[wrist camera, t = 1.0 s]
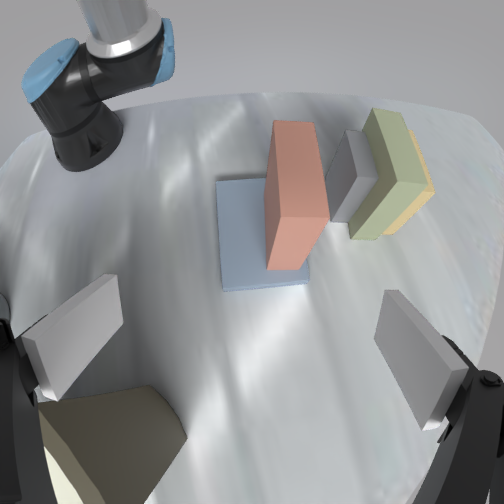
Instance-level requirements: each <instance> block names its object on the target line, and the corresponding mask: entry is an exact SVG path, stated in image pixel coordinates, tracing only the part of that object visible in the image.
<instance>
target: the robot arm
mask: <svg viewBox="0 0 504 504" xmlns="http://www.w3.org/2000/svg"><path fill="white" fill-rule="evenodd" d="M77 2H78V5H79V7H80V9H81V11H82V14H83V16H84V18H85V20H86V22H87V24H88V26H89V29H90V32H89V34H88V36H87V40H86V43H83V44H80V45H79V42H78V41H77V40H76V39H75V38H70V39H65V40H63V41H61V42H59V43H57V44H55V45H54V46H52V47H51V48H49V49H48V50H46V51H45V52H44V53H43V54H41V55H40V56H39V57H38V58H37V59H36V60H35V61H34V62H33V63H32V64H31V65H30V67H29V68H28V69H27V71H26V73H25V74H24V76H23V79H22V84H21V85H22V89H23V91H24V93H25V96H26V98H27V101H28V103H30V104H31V106H32V108H33V109H34V111H35V112H36V114H37V115H38V117H39V118H40V120H41V121H42V123H43V124H44V126H45V127H46V129H47V130H48V131H49V133H50V135H51V137H52V141H53V146H54V150H55V155H56V158H57V160H58V161H59V163H60V164H61V165H62V166H63V168H65V169H66V170H68V171H72V172H79V171H84V170H88V169H90V168H92V167H94V166H96V165H98V164H100V163H101V162H102V161H104V160H105V159H106V158H107V157H109V156H110V155H111V154H112V152H113V151H114V150H115V149H116V147H117V146H118V144H119V142H120V140H121V138H122V133H123V128H122V125H121V122H120V120H119V118H118V116H117V115H116V114H115V113H114V112H112V111H111V110H110V109H109V108H108V107H107V106H106V105H105V104H104V103H103V102H102V101H103V100H106V99H109V98H112V97H115V96H118V95H122V94H125V93H128V92H132V91H135V90H139V89H143V88H146V87H152V86H154V85H155V84H158V83H161V82H164V81H167V80H169V79H170V78H171V77H172V75H173V73H174V67H175V53H174V52H175V51H174V36H173V29H172V24H171V21H170V19H168V18H161V16H160V15H159V13H158V12H157V11H156V10H154V9H152V8H149V7H148V5H147V0H77ZM122 324H123V316H122V310H121V303H120V295H119V287H118V279H117V275H115V274H103V275H102V276H100V277H99V278H97V279H96V280H95V281H93V282H92V283H90V284H89V285H88V286H86V287H85V288H83V289H82V290H81V291H79V292H78V293H76V294H75V295H74V296H72V297H71V298H70V299H68V300H67V301H66V302H64V303H63V304H62V305H60V306H59V307H58V308H56V309H55V310H54V311H52V312H51V313H50V314H47V315H45V316H44V317H42V318H41V319H40V320H38V322H36V323H35V324H33V325H32V327H29V328H28V329H27V330H26V331H24V332H23V333H22V334H21V335H19V336H18V337H17V338H16V339H14V336H13V333H12V330H11V326H10V323H9V320H7V319H6V318H0V504H58V502H57V499H56V495H55V492H54V488H53V485H52V481H51V477H50V473H49V469H48V464H47V460H46V455H45V450H44V444H43V439H42V433H41V426H40V419H39V411H38V401H37V395H36V393H35V390H34V389H35V388H36V387H37V386H38V385H39V386H40V389H41V391H42V393H43V395H44V396H45V397H47V398H50V399H52V400H55V401H59V400H60V398H61V397H62V396H63V395H64V393H65V392H66V391H67V390H68V388H69V387H70V386H71V385H72V383H73V382H74V381H75V380H76V379H77V377H78V376H79V375H80V374H81V372H82V371H83V370H84V369H85V368H86V366H87V365H88V364H89V363H90V362H91V360H92V359H93V358H94V357H95V356H96V355H97V353H98V352H99V351H100V350H101V349H102V348H103V346H104V345H105V344H106V343H107V342H108V341H109V339H110V338H111V337H112V336H113V335H114V334H115V332H116V331H117V330H118V329H119V328H120V327H121V326H122ZM374 340H375V342H376V344H377V346H378V347H379V349H380V351H381V353H382V355H383V356H384V358H385V360H386V362H387V364H388V366H389V368H390V369H391V371H392V373H393V375H394V377H395V379H396V381H397V383H398V385H399V387H400V388H401V390H402V392H403V394H404V396H405V398H406V400H407V402H408V404H409V406H410V408H411V410H412V412H413V414H414V416H415V418H416V420H417V422H418V424H419V426H420V428H421V431H425V430H429V429H434V428H438V427H439V426H440V424H441V422H442V421H443V419H444V417H445V416H446V417H447V419H448V421H449V424H448V425H447V427H446V429H445V430H444V432H443V434H442V435H441V437H440V438H439V440H438V441H437V443H440V445H439V447H438V450H437V452H436V455H435V457H434V460H433V462H432V464H431V467H430V469H429V471H428V473H427V476H426V478H425V480H424V482H423V484H422V486H421V488H420V490H419V492H418V494H417V496H416V498H415V500H414V502H413V504H485V503H486V499H487V496H488V492H489V489H490V498H489V504H504V383H503V381H502V379H501V378H500V377H499V376H498V375H497V374H495V373H493V372H491V371H486V370H481V371H479V370H478V369H477V368H476V367H475V366H474V364H473V363H472V362H471V361H470V360H469V359H468V358H467V356H466V355H463V352H462V351H461V350H460V349H459V348H458V346H457V345H456V344H455V343H454V342H453V341H452V340H450V339H449V338H447V337H445V336H444V335H440V334H439V333H438V331H437V330H436V329H435V328H434V327H433V326H432V325H431V324H430V323H429V322H428V321H427V319H426V318H425V317H424V316H423V315H422V314H421V313H420V312H419V311H418V310H417V309H416V308H415V307H414V306H413V305H412V304H411V303H410V301H409V300H408V299H407V298H406V297H405V296H404V295H403V294H402V293H401V292H400V291H399V290H385V291H384V296H383V301H382V306H381V310H380V315H379V319H378V324H377V328H376V332H375V336H374Z"/></svg>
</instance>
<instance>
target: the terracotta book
mask: <svg viewBox="0 0 504 504" xmlns="http://www.w3.org/2000/svg"><path fill="white" fill-rule="evenodd" d="M264 209H265V236H266V266H267V270H299V269H300V267H301V266H302V264H303V262H304V261H305V259H306V257H307V256H308V254H309V252H310V251H311V249H312V247H313V246H314V244H315V242H316V241H317V239H318V237H319V236H320V234H321V232H322V231H323V229H324V227H325V225H326V224H327V222H328V220H329V219H330V215H329V207H328V201H327V194H326V188H325V181H324V175H323V169H322V163H321V158H320V152H319V147H318V142H317V136H316V131H315V126H314V123H312V122H297V121H277V120H274V121H273V128H272V136H271V144H270V152H269V159H268V167H267V175H266V183H265V190H264Z"/></svg>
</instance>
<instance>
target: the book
mask: <svg viewBox="0 0 504 504" xmlns="http://www.w3.org/2000/svg"><path fill="white" fill-rule="evenodd" d="M38 411H39V419H40V426H41V433H42V439H43V444H44V450H45V455H46V460H47V464H48V469H49V473H50V477H51V481H52V485H53V488H54V492H55V495H56V499H57V502H58V504H144V502H145V501H146V500H147V498H148V497H149V495H150V494H151V492H152V491H153V489H154V488H155V487H156V485H157V484H158V482H159V481H160V479H161V478H162V476H163V475H164V473H165V472H166V470H167V469H168V467H169V466H170V464H171V463H172V461H173V460H174V458H175V457H176V455H177V454H178V452H179V451H180V449H181V448H182V446H183V445H184V443H185V442H186V440H187V437H186V434H185V432H184V430H183V427H182V425H181V422H180V420H179V418H178V417H177V415H176V414H175V412H174V411H173V409H172V408H171V407H170V405H169V404H168V402H167V401H166V400H165V399H164V398H163V397H162V396H161V395H160V394H159V393H158V392H157V391H156V390H155V389H154V388H153V387H152V386H151V385H146V386H142V387H137V388H132V389H127V390H122V391H116V392H111V393H105V394H99V395H93V396H87V397H80V398H73V399H66V400H59V401H49V402H39V403H38Z"/></svg>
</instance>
